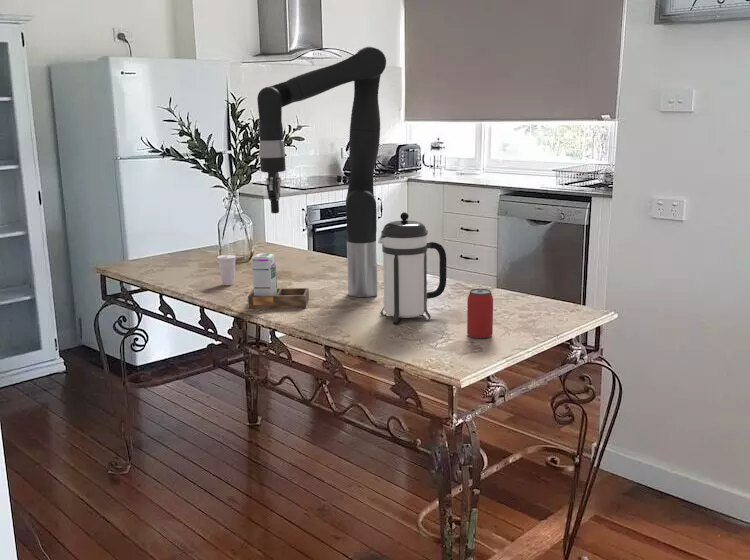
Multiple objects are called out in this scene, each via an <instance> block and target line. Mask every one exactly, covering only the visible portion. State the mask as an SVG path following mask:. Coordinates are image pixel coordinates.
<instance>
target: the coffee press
mask: <svg viewBox="0 0 750 560" xmlns="http://www.w3.org/2000/svg"><path fill="white" fill-rule="evenodd" d="M409 217H410V216H409V214H408V213H407V212H406V211H405V212H404V211H403V212H402V213H401V214H400V220H394V221H389V222H388V223H386V224H385V225H384V226H383V229H382V230H381V231H380V233H381V235H380V236H379V239H378V241H377V243H378V244H379V245H380V244H382V245H381V247H382V249H381V251H382V258H383V259H382V261H383V263H382V264H383V265H382V269H383V270H382V271H383V272H382V275H383V277H382V278H383V308H382V309H381V310H380V312H379V314H380V315H381V316H383V317H384V316H386V315H388V316H390V317H393V319H392V324H393V325H400V321H401V319H402V318H403V319H404V318H405V319H407V318H409V319H410V318H417V317H422V319H423V320H425V321H426V322H428V321H429V320H430V319H431V314H430V313H429V311H428V307H427V306H428V304H427V303H428V300H429V299H433V298H438V297H439V296H441V295H442V294H443V292H444V291H445V289H446V286H447V254H446V249H445V248H444V246H443V245H442V244H440V243H438V242H434V241H429V242H427V237H428V235H429V231H428V230H427V228H426V226H425V224H423V223H422V222H420V221H418V220H417V221H416V220H408V219H409ZM428 249H431V250H432V249H433V250H436V251H437V252H438V256H439V257H438V258H439V282H438V286H437V288H436V289H435V290H434V291H427V288H428V287H427V285H428V284H427V283H428V281H427V279H428V278H427V275H428V273H427V270H428V269H427V267H428V265H427V261H428V260H427V259H428V258H427V252H428ZM384 312H385V313H384ZM424 314H426V315H424ZM426 316H427V317H428V318H427V317H426Z"/></svg>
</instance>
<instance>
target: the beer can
mask: <svg viewBox="0 0 750 560" xmlns="http://www.w3.org/2000/svg"><path fill="white" fill-rule="evenodd" d="M466 301H467V308H466V309H467V312H466V313H467V316H466V317H467V319H466V321H467V322H466V323H467V324H466V327H467V328H466V329H467V330H466V333H467V336H468V337H471V338H473V339H478V340H480V339H481V340H482V339H483V340H484V339H488V338H491V336H493V333H494V331H493V327H494V325H493V324H494V323H493V322H494V297H493V294H492V290H491V289H489V288H488V289H487V288H481V287H479V288H478V287H477V288H472V289H470V290H469V293H468V296H467V300H466Z"/></svg>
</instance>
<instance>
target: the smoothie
mask: <svg viewBox="0 0 750 560" xmlns="http://www.w3.org/2000/svg"><path fill="white" fill-rule="evenodd" d="M227 249H228V248H227V243H224V254H221V255H218V256H217V257H216V260H217V261H218V267H219V272H220V276H221V277H220V278H221V283H222V285H223V286H224V285H231V286H233V284H235V273H236V271H235V269H236V260H237V255H235V254H227V253H228V250H227Z"/></svg>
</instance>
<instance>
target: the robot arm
mask: <svg viewBox="0 0 750 560" xmlns="http://www.w3.org/2000/svg"><path fill="white" fill-rule="evenodd" d="M386 58H387V57H386V55H385V53H384V52H383V50H381V49H380V48H377V47H375V46H365V47H363V48H361V49H359V50H358V51H357V52H356V53H355V54H353V55H351V56H349V57H348V58H345V59H343V60H341V61H339V62H336V63H334V64H331V65H328V66H325V67H321V68H318V69H317V68H316V69H315V70H310V71H308V72H305V73H302V74H299V75H297V76H294V77H292V78H289V79H288V80H285V81H283V82H279V83H277V84H274V85H270V86H265V87H263V88H262V89H261V90H260V91H259V92H258V94H257V99H256V100H257V109H258V112H257V113H258V119H259V120H258V121H259V125H258V126H259V127H258V128H259V129H258V130H259V133H258V134H259V149H258V150H259V151H258V152H259V165H260V172H262V173H267V178H266V180H265V183H266V185H265V186H266V191H267V195H268V200H269V201H270V213H271V214H278V213H279V212H280V203H279V201H280V197H281V191H282V190H281V185H282V184H281V183H282V178H281V177H280V175H279V173H283V172H285V171H286V167H287V166H286V153H285V151H286V150H285V149H286V147H285V142H284V141H285V140H284V128H283V122H282V121H283V119H282V115H283V111H282V110H283V108H284V107H286V106H288V105H290V104H293V103H296V102H297V103H298V102H302V101H305V100H307V99H310V98H312V97H315V96H318V95H321V94H323V93H325V92H327V91H329V90H333V89H334V88H338V87H339V86H342V85H345V84H347V83H352V82H353V84H354V86H353V87H354V89H353V91H354V93H353V95H354V96H353V101H352V106H351V107H352V108H351V116H350V124H349V126H350V127H349V138H348V139H349V140H348V141H349V143H348V144H349V145H348V148H349V150H348V152H349V153H348V154H349V172H350V173H349V180H348V181H349V182H348V186H347V194H346V198H345V208H346V209H345V211H346V212H345V213H346V214H345V215H346V216H345V217H346V218H345V219H346V258H347V259H346V260H347V261H346V263H347V265H346V266H347V293H348V294H347V295H349V296H350V297H353V298H354V297H356V298H369V297H377V296H378V262H377V260H378V259H377V255H378V254H377V222H378V219H377V216H378V215H377V200H376V198H375V193H374V192H375V191H374V174H375V167H376V163H377V160H378V154H379V148H380V136H381V116H380V113H381V112H380V105H379V87H380V82H381V75H382V74H383V73H384V71H385V69H386V66H387V59H386Z"/></svg>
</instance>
